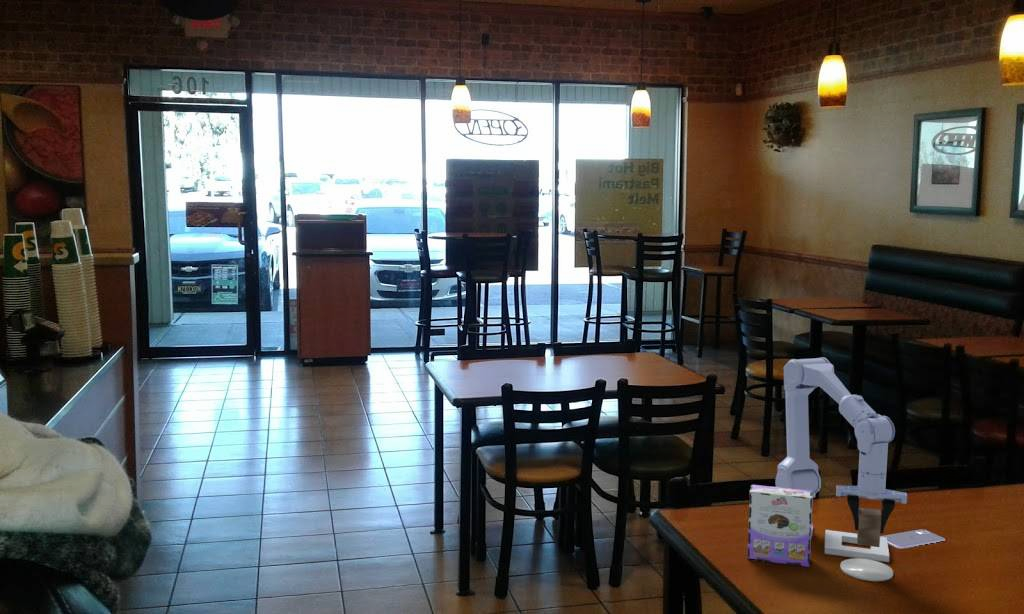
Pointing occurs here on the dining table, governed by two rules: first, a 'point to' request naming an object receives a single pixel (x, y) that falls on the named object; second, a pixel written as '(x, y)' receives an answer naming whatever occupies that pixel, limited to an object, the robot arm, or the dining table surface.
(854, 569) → the ceramic coaster
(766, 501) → the candy box
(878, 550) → the pocket plate
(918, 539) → the mobile phone
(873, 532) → the walnut block
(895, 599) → the dining table surface
